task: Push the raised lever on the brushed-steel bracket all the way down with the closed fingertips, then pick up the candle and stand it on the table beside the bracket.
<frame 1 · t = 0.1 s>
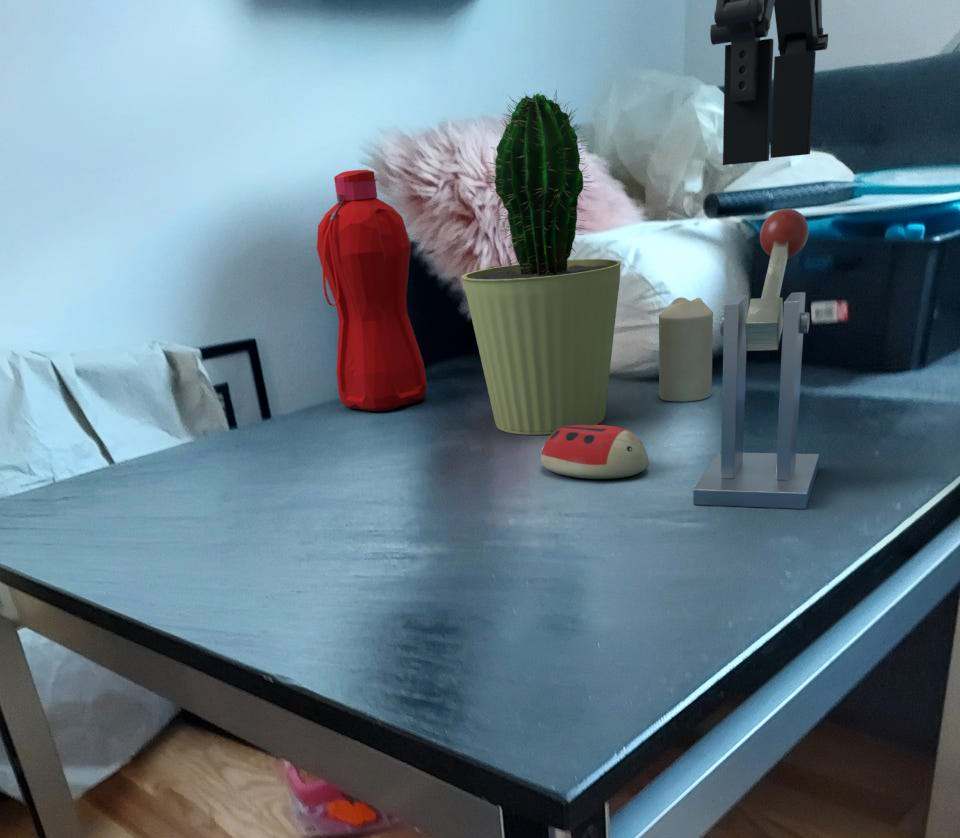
hand: (769, 160, 65), 23 cm above the table, tool pointing down, fingers open, 13 cm apart
water bottle: (379, 407, 113), on the table
bracket: (757, 486, 73), on the table
lever: (774, 275, 71), point 15 cm above the table, hinge at 28.0°
candle: (685, 398, 103), on the table
ladybug figurine: (594, 472, 81), on the table
potted cactus: (549, 422, 98), on the table
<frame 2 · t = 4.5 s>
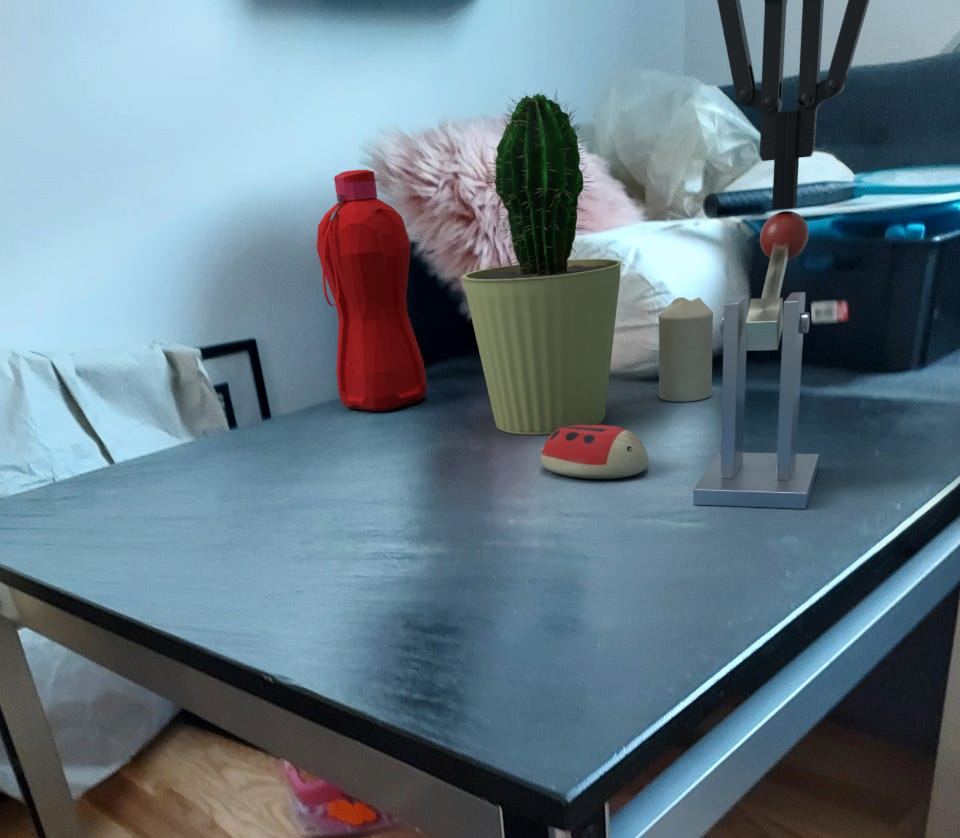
hand: (784, 207, 73), 19 cm above the table, tool pointing down, fingers closed
lever: (775, 277, 71), point 15 cm above the table, hinge at 26.9°, touching gripper
everything else where it was.
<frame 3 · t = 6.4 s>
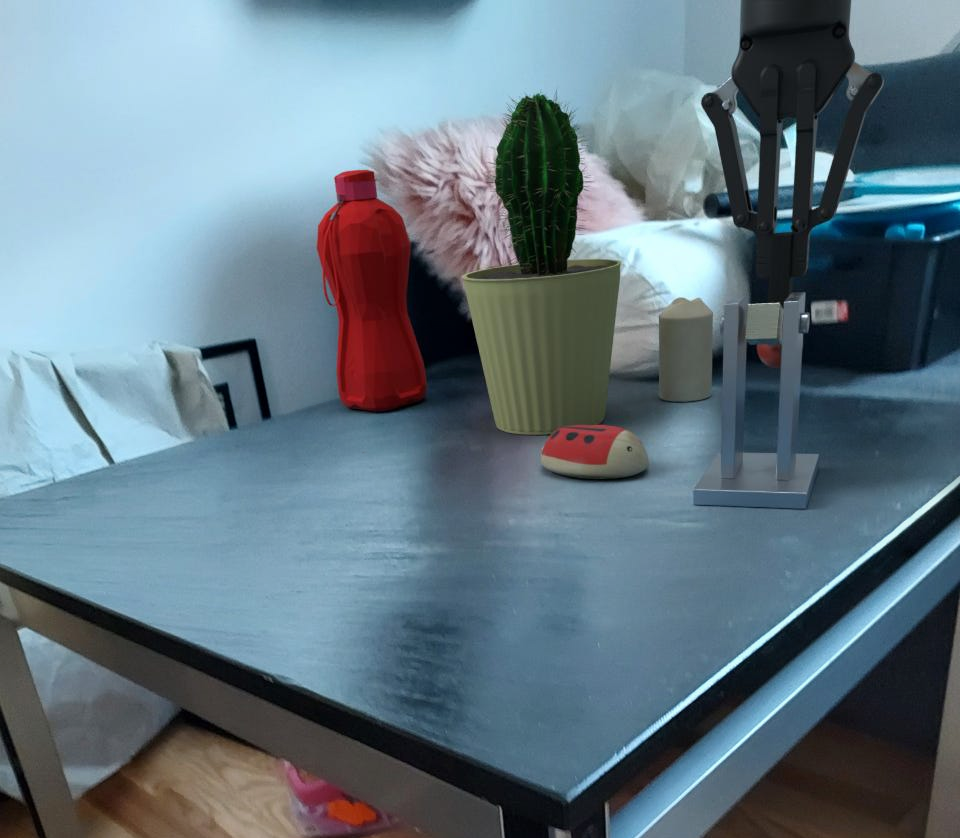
hand: (779, 320, 77), 11 cm above the table, tool pointing down, fingers closed
lever: (772, 336, 73), point 10 cm above the table, hinge at -17.9°, touching gripper
everything else where it was.
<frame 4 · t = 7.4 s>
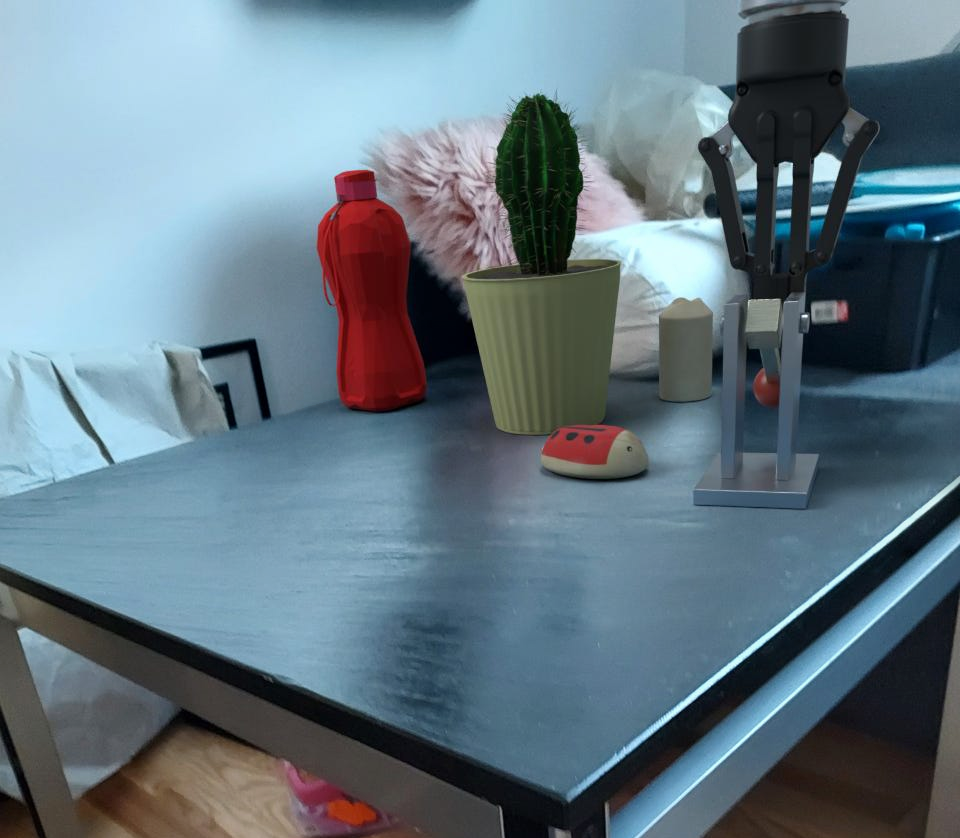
hand: (776, 360, 77), 8 cm above the table, tool pointing down, fingers closed
lever: (770, 358, 73), point 9 cm above the table, hinge at -35.0°, touching gripper
everything else where it was.
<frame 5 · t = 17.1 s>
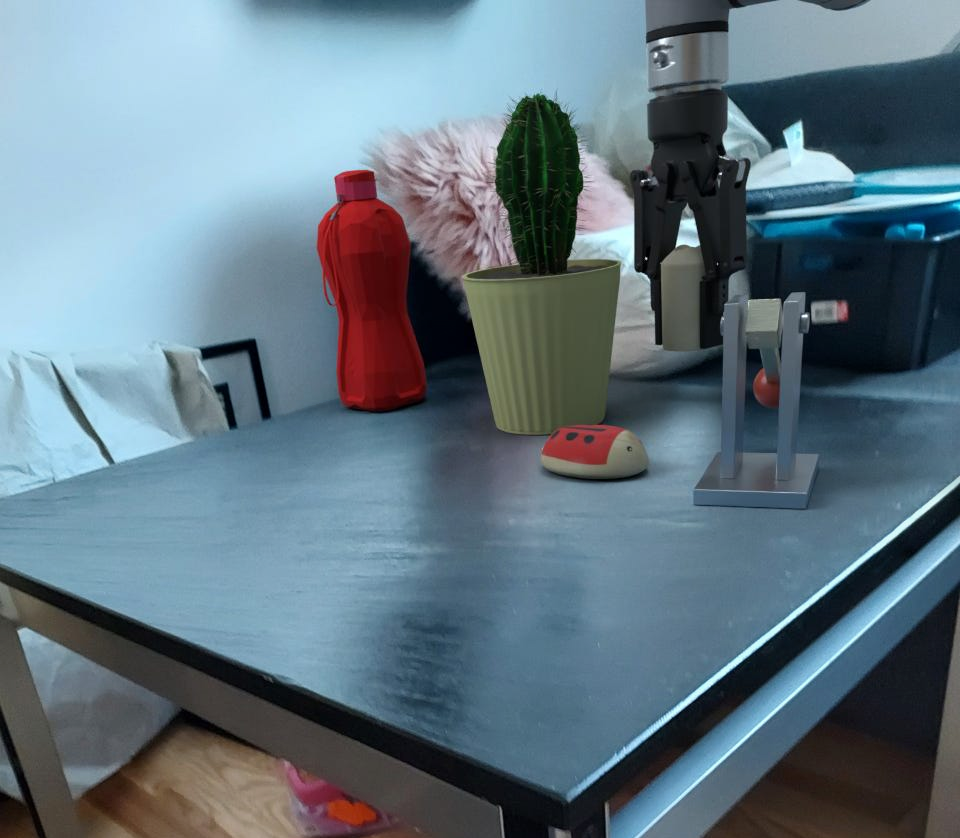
hand: (688, 344, 100), 5 cm above the table, tool pointing down, fingers closed on candle, 5 cm apart
lever: (770, 358, 73), point 9 cm above the table, hinge at -35.1°
candle: (689, 349, 100), point 5 cm above the table, touching gripper
everything else where it was.
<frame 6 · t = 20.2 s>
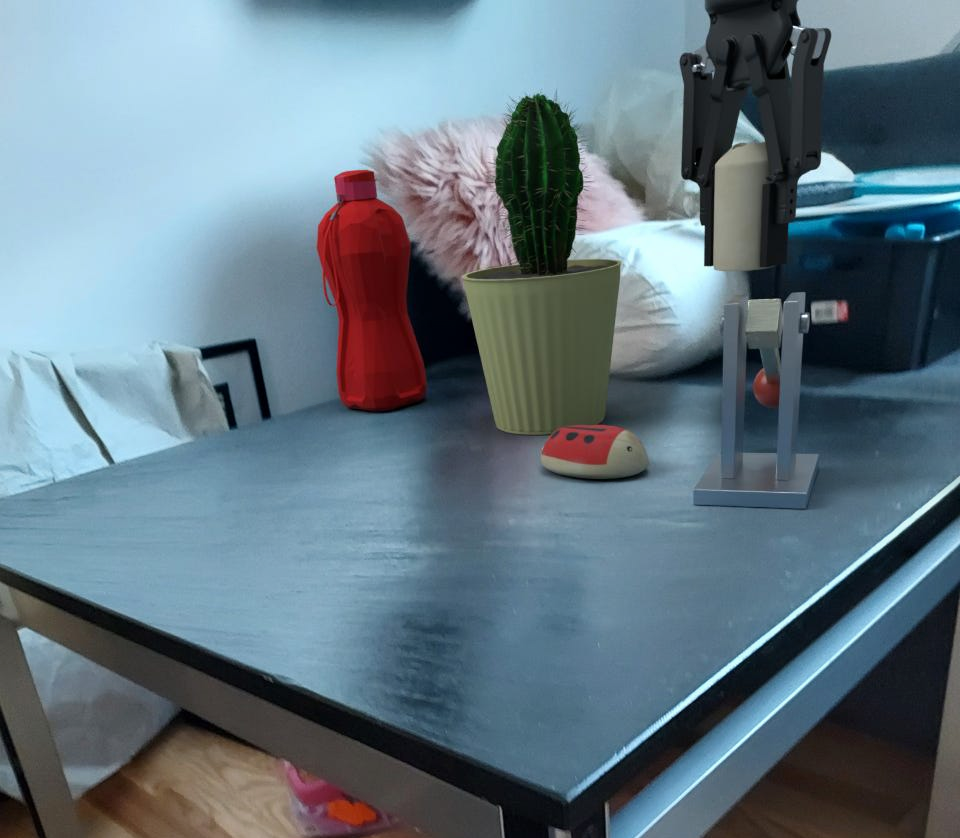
hand: (744, 264, 85), 14 cm above the table, tool pointing down, fingers closed on candle, 5 cm apart
candle: (744, 270, 85), point 14 cm above the table, touching gripper
everything else where it was.
when the fingers open (0 cm above the table, at t = 23.4 s): candle stays where it is, on the table.
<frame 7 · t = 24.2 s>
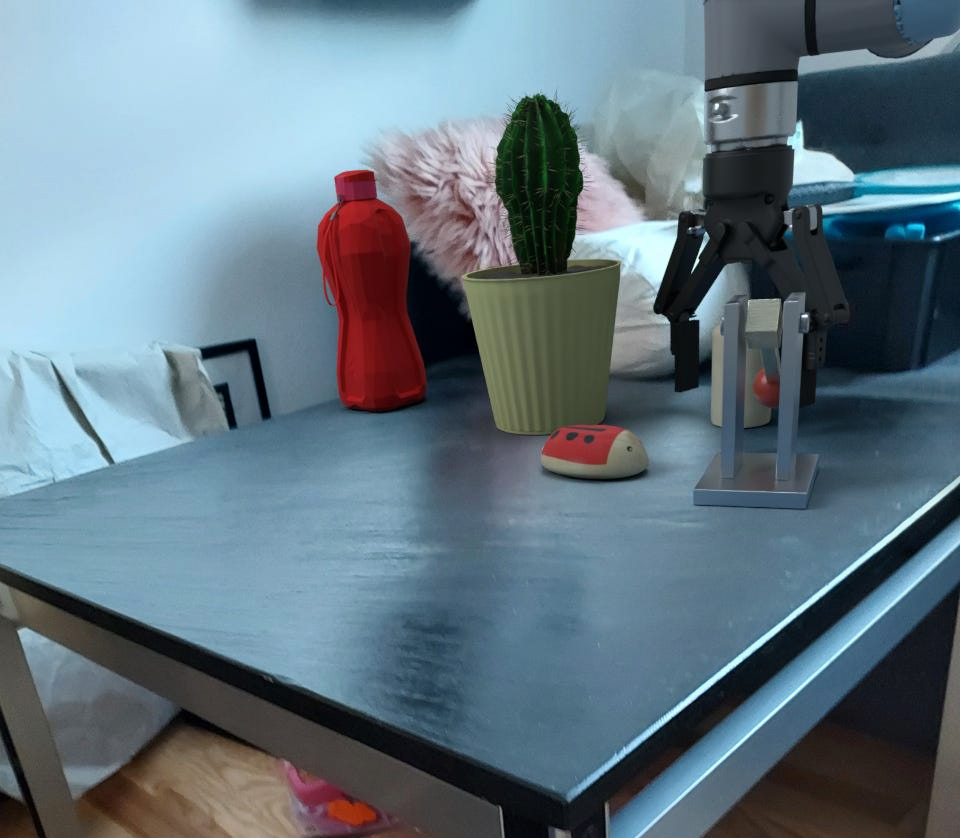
hand: (741, 397, 90), 2 cm above the table, tool pointing down, fingers open, 13 cm apart
candle: (740, 423, 91), on the table
everything else where it was.
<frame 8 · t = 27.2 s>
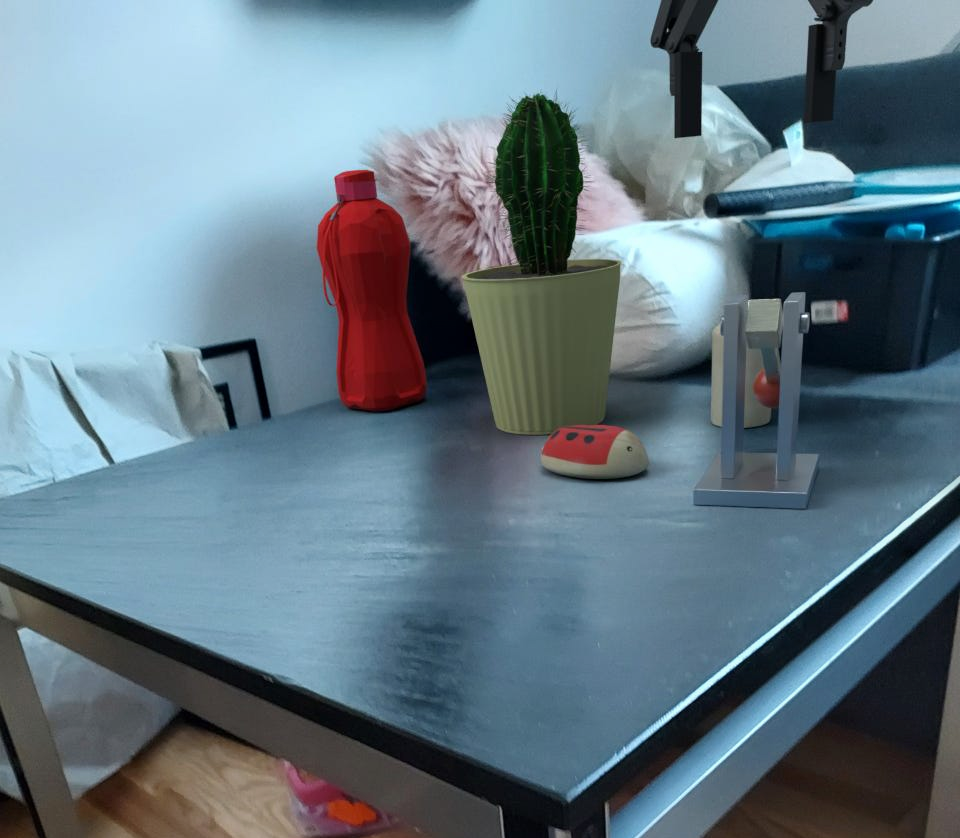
hand: (749, 130, 80), 25 cm above the table, tool pointing down, fingers open, 13 cm apart
nothing on the table moved.
at the end: lever at -35° (first picture: +28°); candle 0.1 cm from the target spot on the table beside the bracket, on the table; candle tilted 0° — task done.
